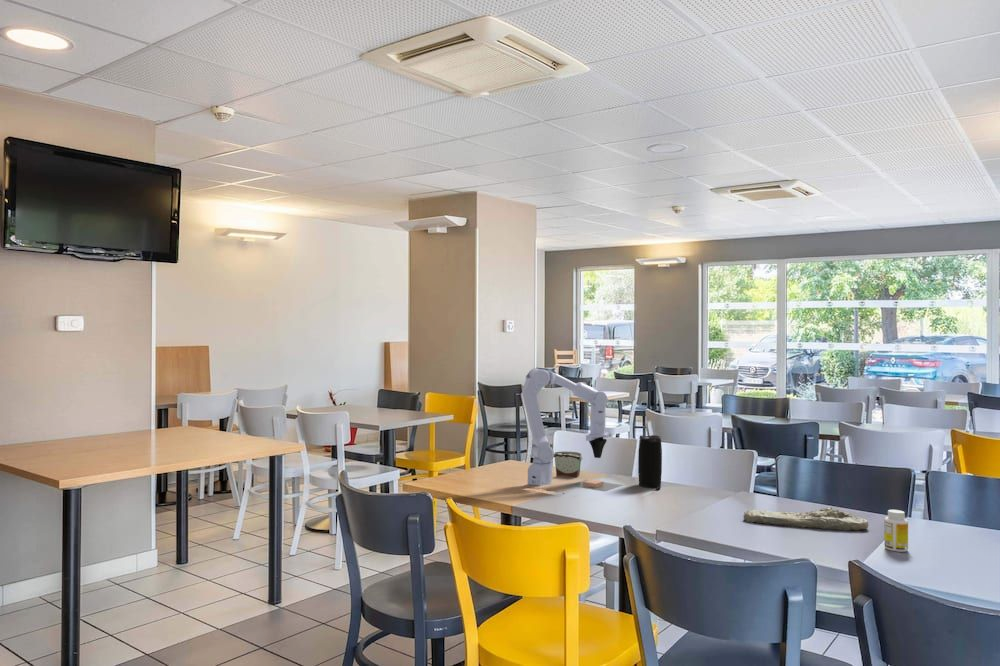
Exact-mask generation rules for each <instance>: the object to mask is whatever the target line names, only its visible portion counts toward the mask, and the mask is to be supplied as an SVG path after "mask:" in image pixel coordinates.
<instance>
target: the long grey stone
mask: <svg viewBox="0 0 1000 666" xmlns="http://www.w3.org/2000/svg"><path fill="white" fill-rule="evenodd" d="M744 520H746V521H745V522H747V521H749V522H748V523H751V522H756V523H755V524H762V523H763V524H764V525H771V524H773V525H774V526H779V525H781V526H780V527H792V526H793V528H804V527H808V529H822V530H830V529H832V530H836V531H845V530H849V531H851V530H852V531H860V530H867V529H868V528H869V521H868V520H867V519H865V518H862V517H858V516H855V515H853V514H851V513H850V512H847V511H842V510H841V509H833V507H823V508H821V509H819V510H810V511H809V512H808V511H806V512H800V513H798V512H794V511H793V512H790V511H787V512H786V511H769V510H757V509H751V510H747V511H745V512H744V515H743V521H744ZM773 525H772V526H773ZM783 525H784V526H783ZM804 529H805V528H804Z"/></svg>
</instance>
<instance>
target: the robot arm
mask: <svg viewBox="0 0 1000 666" xmlns="http://www.w3.org/2000/svg"><path fill="white" fill-rule="evenodd" d="M548 384H550V385H553V384H556V385H557V386H559V387H563V388H565V389H567V390H570V391H572V394H573V396H574V397H576V398H579V399H581V400H583V401H585V402H587V403H589V404H590V422H589V423H590V426H589V432H590V433H588V434H587V435H585V441H588V442H589V444H590V447H591V449H592V452H593V456H594V458H595V459H596V458H597V459H601V458H602V454H603V450H604V448H605V446H606V445H605V444H606V443H607V438H610V432H609V431H606V406H607V404H608V403H609V399H608V396H607V394H606V393H605V392H604V391H600V390H598V388H597V387H592V386H589V385H588V384H587V382H585V381H582V382H581V381H580V382H576V383H575V382H573V381H572V380H570V379H568V378H566V377H564V376H562V375H560V374H557V373H556V372H553V371H550V370H547V369H542V368H537V367H536V368H535V367H533V368H532V369H530V370H529V372H528V373H527V374H526V375H525V381H524V385H523V388H522V391H521V394H522V398H523V404H524V409H525V412H526V415H527V420H528V425H529V428H530V433H531V438H532V439H531V445H532V447H531V454H532V457H533V460H532V464H530V465H529V466H528V468H527V484H526V486H527V485H528V486H529V485H533V486H538V487H541V486H546V485H551V484H552V483H553V458H555V457H554V454H555V451H554V449H553V448H552V446H551V445H550V441H549V439H548V437H547V436H546V432H545V426H544V424H543V418H542V415H541V412H540V411H541V410H540V406H539V401H538V398H537V396H538V394H539V392H540V391H541V390H542V389H543V388H544V387H546V386H547V385H548Z"/></svg>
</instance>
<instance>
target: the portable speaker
mask: <svg viewBox="0 0 1000 666" xmlns="http://www.w3.org/2000/svg"><path fill="white" fill-rule="evenodd" d="M638 438H639V443H638V456H637V457H638V463H637V464H638V465H637V466H638V469H637V471H638V475H637V476H638V486H639V487H641V488H647V489H654V490H655V491H656V490H657V492H659V491H661V486H662V474H663V473H662V471H663V470H662V469H663V464H662V463H663V450H662V449H663V448H662V447H663V446H662V439H661V436H660V435H656V434H655V435H653V434H652V435H645V436H644V435H639V437H638Z"/></svg>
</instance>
